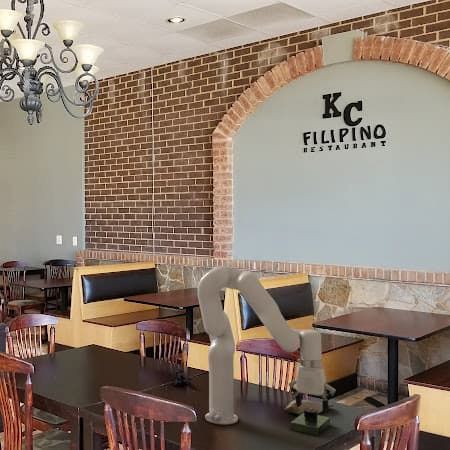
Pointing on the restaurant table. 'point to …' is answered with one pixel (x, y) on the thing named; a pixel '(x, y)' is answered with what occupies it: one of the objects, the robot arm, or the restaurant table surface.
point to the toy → (180, 378)
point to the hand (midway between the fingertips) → (311, 408)
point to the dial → (310, 414)
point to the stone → (305, 406)
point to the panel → (310, 425)
